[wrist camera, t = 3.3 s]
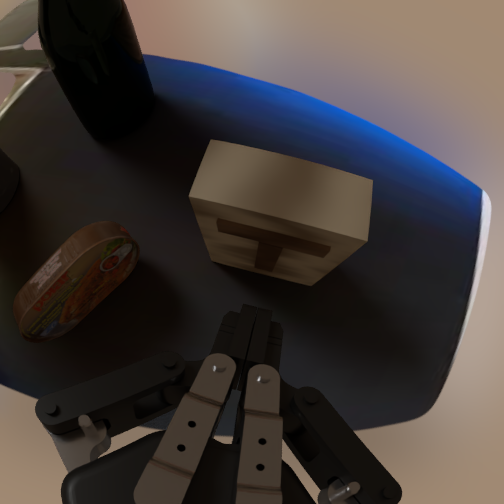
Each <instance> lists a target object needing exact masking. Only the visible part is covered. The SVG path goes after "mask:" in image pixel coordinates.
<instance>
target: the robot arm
mask: <svg viewBox="0 0 504 504" xmlns="http://www.w3.org/2000/svg"><path fill="white" fill-rule="evenodd" d="M18 181H19V168H18V166H17V165H16V163H15V162H14V161H13V160H11V159H10V158H9V157H8V156H7V155H6V154H5V153H4V152H3V150H1V149H0V213H1V212H2V211H3V210H4V209H5V207H6V206H7V205H8V204H9V202H10V201H11V199H12V197H13V195H14V193H15V191H16V188H17V185H18ZM256 310H257V307H254V306H250V305H246V304H243V306H242V309H241V312H240V313H237V312H233V311H230V312H228V313H227V314H226V315H225V316H224V317H223V320H222V323H221V325H220V328H219V331H218V334H217V337H216V339H215V342H214V345H213V348H212V350H211V353H210V354H209V356H208V357H207V358H205V359H203V360H200V361H184V359H183V358H182V357H181V356H180V355H179V354H177V353H174V352H170V351H165V352H161V353H159V354H156V355H154V356H151V357H149V358H146V359H144V360H141V361H139V362H136V363H133V364H131V365H128V366H126V367H123V368H121V369H118V370H115V371H113V372H110V373H107V374H105V375H102V376H99V377H96V378H94V379H91V380H88V381H85V382H83V383H80V384H77V385H74V386H71V387H68V388H65V389H62V390H60V391H57V392H54V393H51V394H48V395H45V396H43V397H41V398H40V399H39V400H38V401H37V403H36V406H35V412H36V415H37V417H38V418H39V420H40V421H41V422H42V424H43V426H44V428H45V429H46V430H47V432H48V433H49V434H50V435H51V437H52V439H53V441H54V443H55V446H56V448H57V450H58V452H59V454H60V457H61V459H62V461H63V463H64V465H65V467H66V468H67V471H68V474H67V475H66V477H65V478H64V480H63V483H62V487H61V497H62V503H63V504H316V503H315V501H314V500H313V499H312V497H311V496H310V494H309V493H308V491H307V490H306V489H305V487H304V486H303V484H302V483H301V481H300V480H299V478H298V477H297V476H296V474H295V472H294V471H293V470H292V468H291V467H290V466H289V465H288V464H286V463H285V462H284V461H283V460H282V458H281V457H282V439H283V440H284V441H285V443H286V444H287V446H288V447H289V448H290V450H291V451H292V453H293V454H294V455H295V457H296V458H297V459H298V461H299V462H300V464H301V465H302V466H303V468H304V469H305V470H306V472H307V473H308V474H309V475H310V477H311V478H312V480H313V481H314V482H315V484H316V485H317V486H318V488H319V489H320V490H321V491H320V493H319V495H318V504H398V502H399V501H400V500H401V497H402V489H401V487H400V485H399V484H398V482H397V481H396V480H395V479H394V478H393V477H392V476H391V474H390V473H389V472H388V471H387V470H386V469H385V468H384V467H383V465H382V464H381V463H380V462H379V461H378V460H377V459H376V457H375V456H374V455H373V454H372V453H371V452H370V450H369V449H368V448H367V447H366V446H365V445H364V443H363V442H362V441H361V440H360V439H359V438H358V436H357V435H356V434H355V433H354V432H353V430H352V429H351V428H350V427H349V426H348V424H347V423H346V422H345V421H344V420H343V418H342V417H341V416H340V415H339V414H338V412H337V411H336V410H335V409H334V408H333V406H332V405H331V404H330V403H329V402H328V400H327V399H326V398H325V397H324V395H323V394H322V393H321V392H320V391H319V390H317V389H315V388H313V387H302V388H300V389H296V388H294V387H292V386H290V385H288V384H287V383H286V382H284V381H283V379H282V378H281V376H280V374H279V364H280V356H281V346H282V338H283V329H282V327H281V325H280V323H277V322H272V321H271V316H272V311H270V310H266V309H262V308H258V310H257V314H256ZM255 314H256V317H255ZM254 318H255V321H254ZM253 323H254V324H253ZM252 327H253V328H252ZM242 367H243V368H242ZM241 371H242V372H241ZM240 374H241V377H240ZM239 377H240V381H239ZM238 381H239V385H238V389H237V390H239V391H242V392H241V396H240V400H239V403H238V407H237V414H236V421H235V428H234V435H233V441H232V444H223V443H221V442H219V441H217V440H215V439H213V438H214V435H215V432H216V429H217V427H218V424H219V422H220V419H221V416H222V414H223V411H224V408H225V406H226V403H227V401H228V399H229V397H230V394H231V391H232V389H234V390H236V387H237V384H238ZM177 407H178V408H177ZM175 408H177V410H176V412H175V414H174V416H173V418H172V420H171V422H170V424H169V426H168V428H167V430H163V431H157V432H154V433H151V434H148V435H146V436H144V437H142V438H140V439H138V440H136V441H135V442H132V443H130V444H128V445H126V446H124V447H122V448H120V449H118V450H116V451H113V452H111V453H109V454H107V455H105V456H103V457H100V458H98V457H99V456H100V455H101V454H103V453H104V452H106V451H107V450H108V449H109V448H110V445H111V437H114V436H116V435H118V434H121V433H123V432H125V431H128V430H130V429H132V428H135V427H137V426H139V425H141V424H143V423H146V422H148V421H150V420H152V419H154V418H156V417H159V416H161V415H163V414H165V413H167V412H169V411H171V410H173V409H175Z"/></svg>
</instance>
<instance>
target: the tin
mask: <svg viewBox="0 0 504 504" xmlns="http://www.w3.org/2000/svg"><path fill="white" fill-rule="evenodd" d="M139 254H140V250H139V245H138V244H137V242H136V241H135V240H134V239H132V237H131V236H130V235H129V233H128V232H127V231H126V229H125V228H124V227H123V226H121V225H120V224H118V223H116V222H112V221H100V222H96V223H93V224H90V225H87V226H85V227H83V228H82V229H80V230H78V231H77V232H75V233H74V234H73V235H72V236H71V237H69V238H68V239H67V240H66V241H65V242H64V243H63V244H62V245H61V246H60V247H59V248H58V249H57V250H56V251H55V252H54V253H53V254H52V255H51V256H50V257H49V258H48V259H47V260H46V262H45V263H44V264H43V265H42V266H41V267H40V268H39V269H38V270H37V271H36V272H35V273H34V275H33V276H32V277H31V278H30V279H29V280H28V281H27V282H26V284H25V285H24V286H23V287H22V288H21V290H20V291H19V292H18V294H17V295H16V297H15V300H14V303H13V313H14V317H15V320H16V322H17V324H18V327H19V330H20V334H21V336H22V337H23V338H24V339H25V340H27V341H29V342H34V343H35V342H36V343H39V342H46V341H49V340H52V339H55V338H58V337H60V336H62V335H64V334H65V333H67V332H68V331H70V330H71V329H73V328H74V327H75V326H76V325H77V324H78V323H79V322H80V321H81V320H82V319H84V318H85V317H86V316H87V315H88V314H89V313H90V312H91V311H92V310H93V309H94V308H95V307H96V306H97V305H98V304H99V303H100V302H101V301H102V300H103V299H104V298H106V297H107V296H108V295H109V294H110V293H111V292H112V291H113V290H114V289H115V288H117V287H118V286H119V285H120V284H121V283H122V282H123V281H124V280H125V279H126V278H127V277H128V276H129V275H130V273H131V272H132V271H133V269H134V267H135V266H136V264H137V261H138V259H139Z"/></svg>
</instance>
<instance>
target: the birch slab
mask: <svg viewBox="0 0 504 504" xmlns="http://www.w3.org/2000/svg"><path fill="white" fill-rule="evenodd" d="M372 185H373V180H370V179H367V178H364V177H361V176H358V175H355V174H351V173H348V172H345V171H341V170H338V169H335V168H331V167H328V166H324V165H321V164H317V163H313V162H310V161H306V160H302V159H298V158H294V157H291V156H287V155H282V154H278V153H274V152H270V151H266V150H261V149H257V148H252V147H248V146H243V145H238V144H233V143H228V142H223V141H218V140H212V139H211V140H210V143H209V145H208V148H207V150H206V153H205V155H204V157H203V160H202V162H201V165H200V168H199V170H198V173H197V175H196V178H195V180H194V183H193V186H192V188H191V191H190V194H189V199H190V202H191V205H192V207H193V210H194V213H195V216H196V219H197V222H198V224H199V227H200V230H201V233H202V236H203V238H204V241H205V244H206V247H207V249H208V252H209V255H210V257H211V260H212V261H213V262H217V263H221V264H225V265H229V266H232V267H236V268H240V269H244V270H248V271H252V272H256V273H260V274H264V275H268V276H272V277H276V278H280V279H284V280H288V281H292V282H296V283H300V284H304V285H308V286H312V285H313V284H315V283H316V282H317V281H319V280H320V279H321V278H322V277H324V276H325V275H326V274H328V273H329V272H330V271H331V270H333V269H334V268H335V267H336V266H338V265H339V264H340V263H341V262H343V261H344V260H345V259H346V258H348V257H349V256H350V255H351V254H353V253H354V252H355V251H356V250H357V249H359V248H360V247H361V246H362V245H364V244H365V243H366V242H367V240H368V231H369V222H370V211H371V199H372Z"/></svg>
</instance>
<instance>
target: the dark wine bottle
mask: <svg viewBox="0 0 504 504" xmlns="http://www.w3.org/2000/svg"><path fill="white" fill-rule="evenodd" d="M38 35H39V39H40V43H41V47H42V50H43V52H44V54H45V57H46V59H47V61H48V64H49V66H50V68H51V70H52V72H53V73H54V75H55V77H56V79H57V81H58V83H59V85H60V87H61V88H62V90H63V92H64V94H65V96H66V97H67V99H68V101H69V103H70V104H71V106H72V108H73V110H74V111H75V113H76V115H77V116H78V118H79V120H80V121H81V123H82V125H83V126H84V128H85V129H86V130H87V132H88V133H89V134H90V135H91V136H93V137H95V138H98V139H104V140H107V139H115V138H119V137H122V136H124V135H127V134H128V133H130V132H132V131H134V130H135V129H137V128H138V127H139V126H141V125H142V124H143V123H144V122H145V121H146V120H147V118H148V117H149V116H150V114H151V112H152V110H153V108H154V105H155V96H154V91H153V87H152V84H151V81H150V77H149V74H148V71H147V68H146V65H145V61H144V58H143V55H142V52H141V49H140V45H139V42H138V39H137V36H136V33H135V30H134V26H133V23H132V20H131V17H130V15H129V12H128V9H127V6H126V4H125V2H124V0H38Z"/></svg>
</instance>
